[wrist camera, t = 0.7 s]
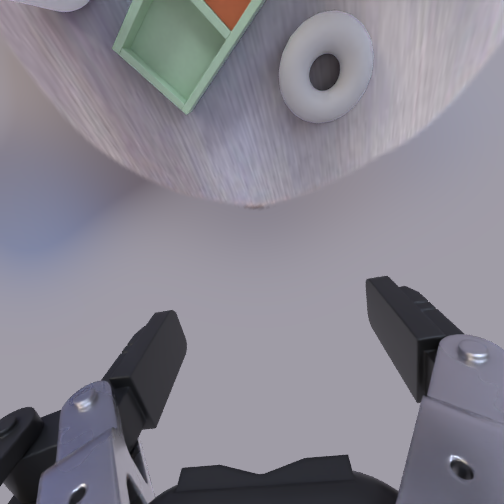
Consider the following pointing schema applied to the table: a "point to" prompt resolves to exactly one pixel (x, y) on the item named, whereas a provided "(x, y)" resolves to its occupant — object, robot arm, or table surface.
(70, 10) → the wine bottle
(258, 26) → the table surface
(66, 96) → the table surface
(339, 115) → the donut
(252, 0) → the tray
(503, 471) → the robot arm
